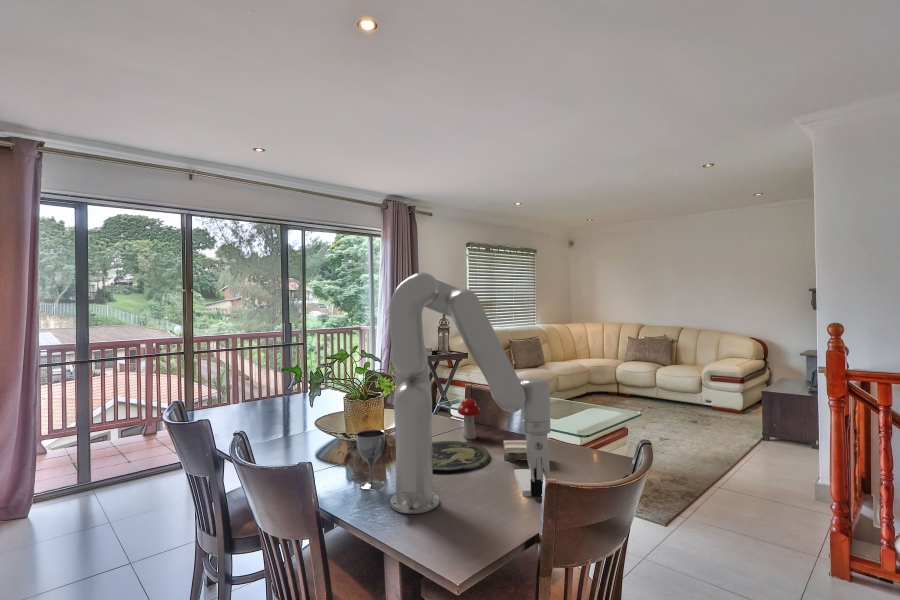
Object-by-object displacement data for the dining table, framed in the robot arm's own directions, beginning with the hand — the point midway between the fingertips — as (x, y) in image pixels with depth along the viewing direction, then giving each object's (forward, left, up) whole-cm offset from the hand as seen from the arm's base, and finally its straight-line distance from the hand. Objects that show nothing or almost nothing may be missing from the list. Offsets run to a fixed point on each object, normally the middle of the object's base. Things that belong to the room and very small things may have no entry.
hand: (537, 495), depth 122 cm
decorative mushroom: (+57, +18, -1) cm, 60 cm away
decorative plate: (+33, +26, -2) cm, 42 cm away
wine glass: (+9, +46, -1) cm, 47 cm away
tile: (+10, 0, -2) cm, 10 cm away
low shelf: (+28, 0, -1) cm, 28 cm away
